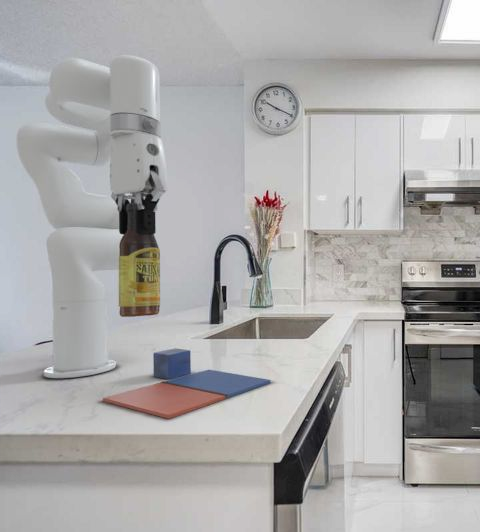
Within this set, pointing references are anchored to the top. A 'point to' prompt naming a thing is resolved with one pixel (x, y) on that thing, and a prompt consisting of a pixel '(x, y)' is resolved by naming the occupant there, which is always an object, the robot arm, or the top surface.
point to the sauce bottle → (138, 271)
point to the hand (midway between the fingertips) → (137, 233)
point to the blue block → (172, 363)
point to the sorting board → (186, 393)
